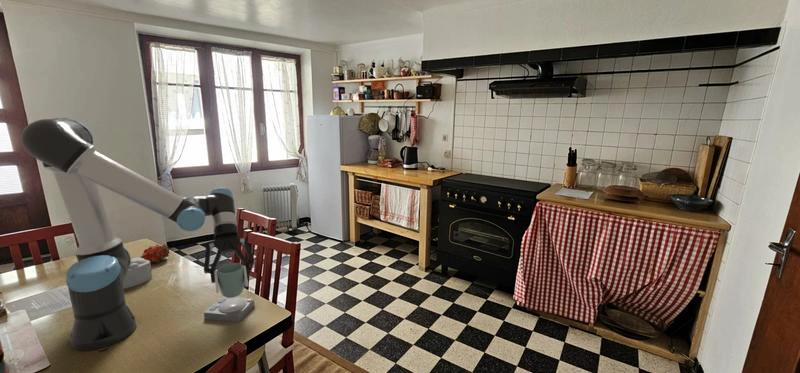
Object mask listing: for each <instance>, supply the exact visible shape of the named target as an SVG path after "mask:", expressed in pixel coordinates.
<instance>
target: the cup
mask: <svg viewBox="0 0 800 373" xmlns="http://www.w3.org/2000/svg"><path fill="white" fill-rule="evenodd" d="M243 266H244V264H243V263H240V262H230V263H229V262H228V263H225V264H223V265H220V266H219V267H217V268H216V271H217V276H218V286H219V293H220V294H221V295H222V297H226V298H233V297H235V298H237V297H238V296H240V295H241V294H242V293H243V292H244V289H245V279H244V268H243Z"/></svg>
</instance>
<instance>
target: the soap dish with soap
mask: <svg viewBox="0 0 800 373" xmlns="http://www.w3.org/2000/svg"><path fill="white" fill-rule="evenodd" d="M254 307H255V299H254V298H245V297H244V298H243V297H233V298H226V297H224V296H221V297H220V298H219V299H218V300H216V301H215V302H214V303H213V304H211V305H210V307H208V308H207V309H206V310H205V311H204V312H203V319H204V320H210V321H220V322H221V321H222V322H231V323H234V322H235V323H239V322H240V321H241V320H243V319H244V317H245V316H247V314H248V313H249V312H250V311H251V310H252V309H253V308H254Z"/></svg>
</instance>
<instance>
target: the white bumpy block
mask: <svg viewBox="0 0 800 373" xmlns="http://www.w3.org/2000/svg"><path fill="white" fill-rule="evenodd" d="M152 279H153V273H152V266H151V263H150V261H149V260H145V259H144V258H141V257H139V256H138V257H132V258H131V262H130V267H129V269H128V271H127V273H126V275H125V278H124V280H123V290H124V289H128V288H132V287H133V288H134V287H136V286H138V285H141V284H143V283H146V282H148V281H150V280H152Z"/></svg>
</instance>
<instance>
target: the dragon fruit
mask: <svg viewBox="0 0 800 373" xmlns="http://www.w3.org/2000/svg"><path fill="white" fill-rule="evenodd" d="M169 248H170V247H169V246H167V245H165V244H162V245H161V244H155V245H152V246H149V247H148V248H146V249H144V250H143V253H142V254H141V257H140V258H144V259H145V260H149V261H150V264H153V263H156V264H159V263H160V262H162V261H164V259H166V258H169V256H170V250H171V249H169Z"/></svg>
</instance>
